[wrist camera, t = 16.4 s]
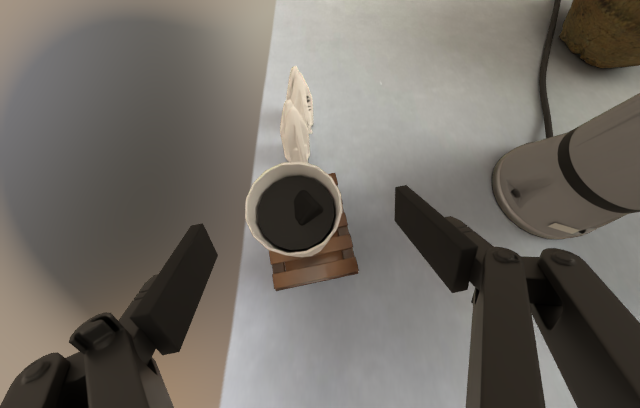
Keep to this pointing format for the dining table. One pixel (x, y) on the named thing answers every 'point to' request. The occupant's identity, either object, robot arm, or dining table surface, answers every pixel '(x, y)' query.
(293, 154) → the shaker set
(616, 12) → the clay pot
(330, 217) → the cream cup
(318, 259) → the rack
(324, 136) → the dining table surface
